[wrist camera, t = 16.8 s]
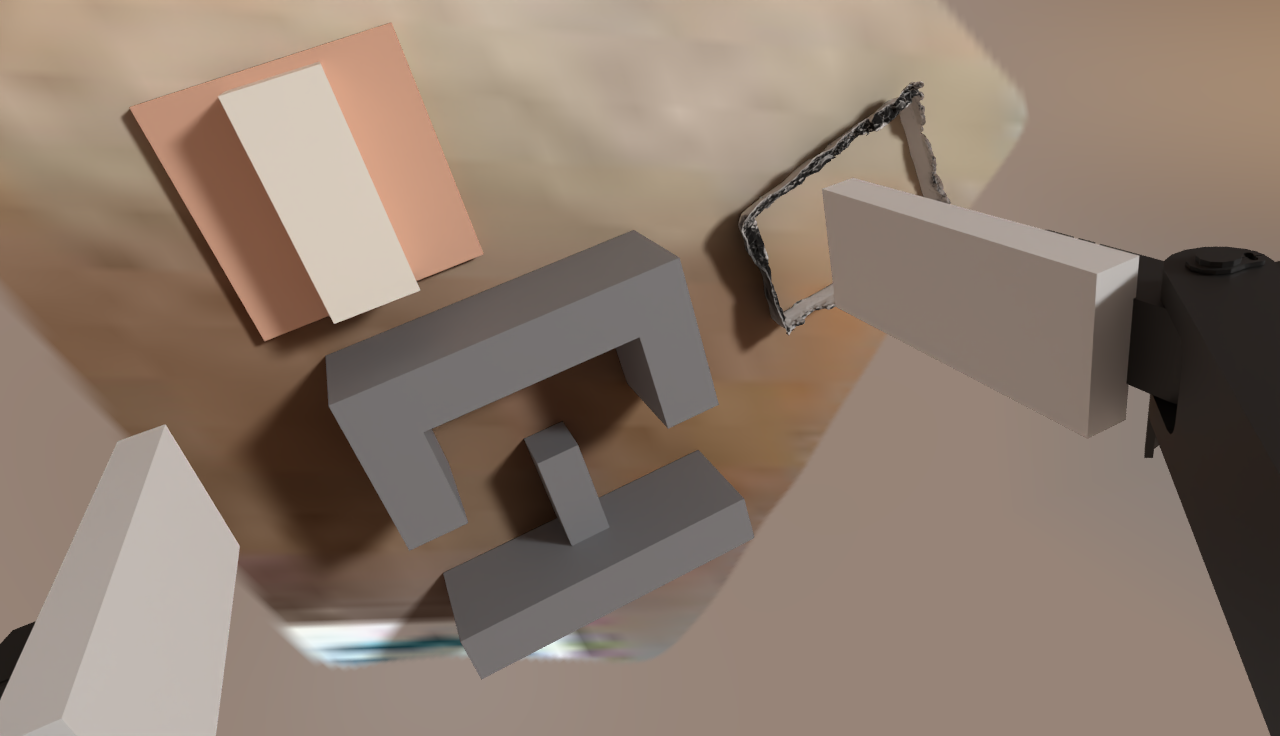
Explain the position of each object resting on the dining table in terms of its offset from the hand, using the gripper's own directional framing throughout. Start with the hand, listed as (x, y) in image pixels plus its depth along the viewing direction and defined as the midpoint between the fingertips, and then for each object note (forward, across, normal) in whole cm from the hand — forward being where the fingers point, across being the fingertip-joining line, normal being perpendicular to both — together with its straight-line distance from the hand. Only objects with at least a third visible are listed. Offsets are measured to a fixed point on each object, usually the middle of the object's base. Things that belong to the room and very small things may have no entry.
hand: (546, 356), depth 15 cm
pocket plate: (+25, +2, -17) cm, 30 cm away
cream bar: (+24, -4, 0) cm, 25 cm away
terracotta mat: (+25, -4, 0) cm, 25 cm away
